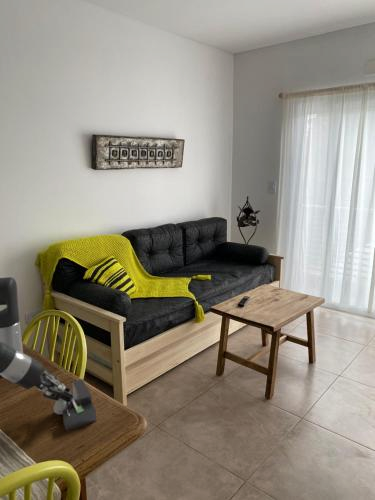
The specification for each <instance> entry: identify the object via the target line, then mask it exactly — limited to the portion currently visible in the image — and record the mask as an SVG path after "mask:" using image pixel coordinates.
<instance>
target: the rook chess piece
mask: <svg viewBox="0 0 375 500" xmlns="http://www.w3.org/2000/svg"><path fill="white" fill-rule="evenodd" d="M60 383H61V382H60ZM60 383H59V384H58V387H60V388H61V389H63V390H65V388H66V387H67V386H66V385H65V384H64V383H61V385H60ZM64 385H65V386H66V387H65V386H64ZM67 409H70V407H69V403H68V402H66V401H64V400H63V399H61V398H60V399H59V400H58V401H56V400H55V402H54V405H53V413H55V415H63V411H64V410H67Z"/></svg>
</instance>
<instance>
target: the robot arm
mask: <svg viewBox="0 0 375 500" xmlns="http://www.w3.org/2000/svg"><path fill="white" fill-rule="evenodd" d="M18 303H19V302H18V285H17V281H16V279H15V278H14V277H7V276H6V277H0V306H6V307H5V308H3V309H2V310H0V376H1V377H2V378H4V379H5V380H7V381H9V382H11V383H12V384H15V385H17V386H19V387H21V388H23V389H25V390H29V389H31V388H33V387H35V388H36V389H37V390H39V391H40V392H43V394H42V396H43V397H44V398H45V399H46V398H47V399H49V400H53V401H55V402H56V401H58V400H59V399H60V398H61V399H63V400H64V401H66V402H70V401H71V399H72V398H73V393H71V394H70V393H68V392H69V391H70V392H71V389H70V387H68V386H66V385H65V384H64V386H65V387H66V388H65V390H63V389H61V388H60V387H58V384H59V383H60V385H61V381H60V380H58V377H57V376H56V375H53V374H52V373H51V372H50V371H48V370H47V369H46V368H44V365H43V363H41V362H39V361H38V360H36V359H35V358H33V357H32V356H29V355H28V354H25V353H24V349H23V339H22V332H21V331H22V330H21V324H20V315H19V314H20V313H19V304H18Z"/></svg>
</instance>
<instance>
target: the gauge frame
mask: <svg viewBox="0 0 375 500" xmlns="http://www.w3.org/2000/svg"><path fill="white" fill-rule="evenodd" d="M71 385H72V395H73V398H74V400H75V403H76V405H77V407H78V410H77V411H76V410H75V408H71V409H70V408H69V409H67V410H64V411H63V414H62V420H63V426H64V428H65V430H66V431H69V430H73V429H76V428H79V427H82V426H85V425H88V424H90V423H94V422H96V421H97V413H96V406H95V405H94V404H93V402H92V400H93V399H92V394H91V393H90V391H89V389H88V387H87V386H86V384H85V382H84V380H83V379H82V378H81V379H78V380H73V381H71Z"/></svg>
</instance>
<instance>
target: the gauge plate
mask: <svg viewBox="0 0 375 500" xmlns="http://www.w3.org/2000/svg"><path fill="white" fill-rule="evenodd" d="M68 393H70V394H72V392H71V390H70V391H69V392H68ZM68 403H69V409H71V408H75V410H76V411H77V410H78V407H77V405H76V403H75V400H74V398H72V399H71V401H70V402H68Z"/></svg>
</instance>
